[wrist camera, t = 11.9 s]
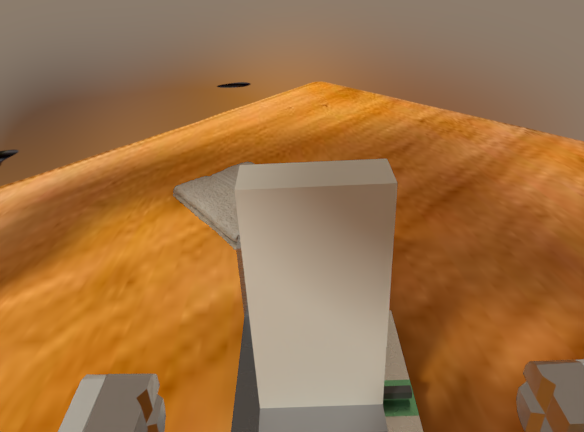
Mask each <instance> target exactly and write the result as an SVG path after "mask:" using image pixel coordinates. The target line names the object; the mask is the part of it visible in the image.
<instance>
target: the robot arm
mask: <svg viewBox="0 0 584 432" xmlns="http://www.w3.org/2000/svg"><path fill="white" fill-rule="evenodd" d="M523 375H524V376H525V378H526V380H527V381H526V382H525V383H524V384H523V385H522V386H520V387H519V389H518V393H517V398H516V401H517V412H518V415H519V419H520V422H521V424H522V426H523V429H524V431H525V432H584V359H581V360H550V361H529V362H528V363H527V364H526V366H525V369H524V372H523ZM158 389H159V381H158V378H157V375H156V374H98V375H86V376H85V377H84V378H83V379H82V380H81V382H80V384H79V386H78V388H77V391H76V393H75V395H74V397H73V400H72V402H71V404H70V406H69V408H68V411H67V413H66V415H65V417H64V419H63V422H62V424H61V426H60V428H59V430H58V432H164V429H165V417H166V415H165V405H164V401H163V398H162V397H160V396H159V395H158V394H157V393H158Z"/></svg>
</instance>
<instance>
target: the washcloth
mask: <svg viewBox="0 0 584 432" xmlns="http://www.w3.org/2000/svg"><path fill="white" fill-rule="evenodd" d="M253 164H254V163H252V162H244V163H240V164H237V165H234V166H231V167H228V168H227V169H225V170H223V171H221V172H218V173H216V174H213V175H211V176H204V177H201V178H198V179H195V180H191V181H189V182H186V183H182V184H181V185H177V186H175V188H174V191H173V193H174V194H173V196H175V197H176V199H178V200H179V201H180V203H183V204H184V206H185V207H187V208H188V209H190V210H191V212H193V213H194V214H195V215H196V216H198V217H199V219H200V220H202V221H203V222H205V223H206V224H207V225H209V226H210V227H211V228H212V229H213V230H215V231H216V232H218V234H219V235H220V236H222V238H223V239H224V240H225V241H227V243H229V244H230V246H232V247H233V249H234V250H236V247H237V241H238V235H239V225H238V217H237V208H236V200H235V191H234V190H235V185H236V180H237V176H238V171H239V166H240V165H253Z"/></svg>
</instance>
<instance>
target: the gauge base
mask: <svg viewBox="0 0 584 432" xmlns="http://www.w3.org/2000/svg"><path fill="white" fill-rule="evenodd" d="M236 252H237V260H238V268H239V276H240V284H241V292H242V300H243V308H244V316H245V317H244V326H243V334H242V343H241V351H240V360H239V368H238V377H237V385H236V394H235V402H234V411H233V420H232V428H231V432H259V416H260V404H259V396H258V387H257V379H256V370H255V362H254V353H253V345H252V336H251V328H250V319H249V311H248V302H247V294H246V285H245V276H244V268H243V259H242V251H241V242H240V234H239V235H238V241H237V247H236ZM404 385H411V383H410V379H409V376H408V372H407V368H406V364H405V361H404V357H403V353H402V349H401V346H400V342H399V338H398V334H397V331H396V327H395V323H394V319H393V316H392V312H391V310H390V311H389V318H388V333H387V348H386V363H385V378H384V386H404ZM411 389H412V386H411ZM383 408H384V413H385V418H386V423H387V428H388V432H423V428H422V425H421V421H420V417H419V413H418V409H417V405H416V401H415V398H414V394H413V390H412V398H409V399H383Z"/></svg>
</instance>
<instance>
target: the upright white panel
mask: <svg viewBox="0 0 584 432" xmlns="http://www.w3.org/2000/svg"><path fill="white" fill-rule="evenodd" d="M234 191H235V200H236V208H237V217H238V225H239V234H240V242H241V251H242V259H243V268H244V276H245V285H246V294H247V302H248V311H249V319H250V328H251V336H252V345H253V353H254V362H255V370H256V379H257V387H258V396H259V404H260V416H259V432H388V428H387V423H386V418H385V413H384V408H383V399H409V398H412V389H411V385H404V386H384V378H385V363H386V348H387V333H388V318H389V303H390V288H391V273H392V258H393V243H394V228H395V213H396V198H397V181H396V178H395V176H394V174H393V171H392V169H391V167H390V164H389V162H388V160H387V159H366V160H344V161H321V162H299V163H276V164H253V165H240V166H239V171H238V176H237V180H236V185H235V190H234Z"/></svg>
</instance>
